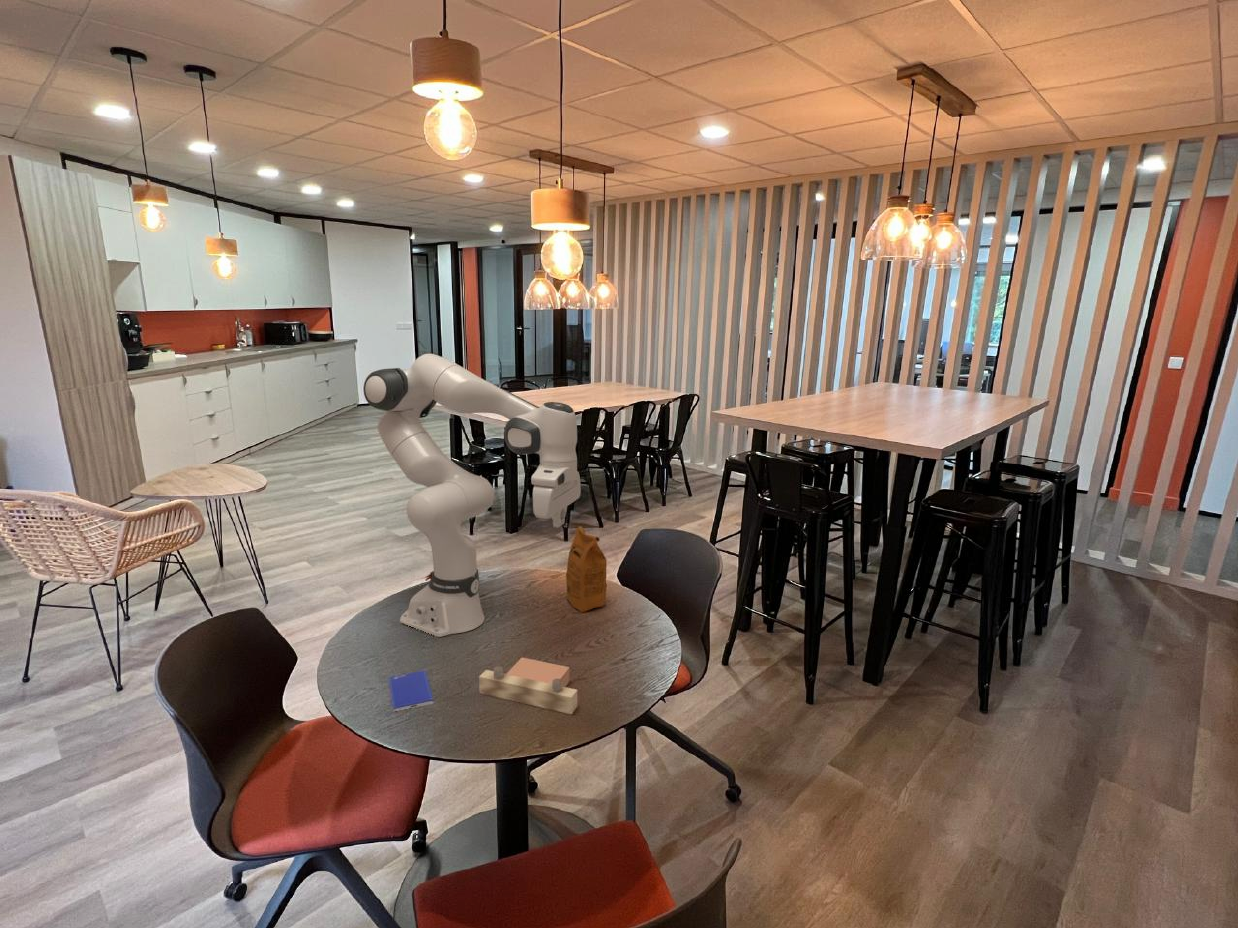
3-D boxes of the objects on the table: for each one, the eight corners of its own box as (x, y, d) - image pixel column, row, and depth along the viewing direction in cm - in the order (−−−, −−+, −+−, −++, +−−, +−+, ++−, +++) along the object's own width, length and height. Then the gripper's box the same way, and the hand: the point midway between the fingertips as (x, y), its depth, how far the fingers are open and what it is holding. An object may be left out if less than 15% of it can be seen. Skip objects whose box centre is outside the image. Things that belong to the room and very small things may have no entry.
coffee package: (592, 591, 191) (592, 522, 186) (610, 608, 180) (611, 535, 175) (561, 597, 187) (561, 526, 182) (578, 614, 176) (578, 540, 171)
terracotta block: (505, 691, 140) (504, 675, 139) (522, 672, 148) (521, 657, 147) (554, 702, 137) (554, 686, 136) (569, 682, 144) (569, 667, 143)
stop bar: (479, 692, 139) (478, 668, 137) (486, 685, 142) (485, 661, 140) (571, 714, 132) (571, 688, 131) (577, 706, 135) (577, 681, 133)
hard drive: (388, 676, 142) (393, 708, 131) (425, 669, 146) (433, 699, 135) (388, 683, 143) (393, 714, 132) (426, 675, 146) (433, 705, 135)
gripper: (564, 460, 162) (564, 512, 165) (527, 479, 143) (528, 536, 146) (586, 462, 160) (586, 514, 163) (553, 481, 141) (553, 540, 144)
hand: (558, 525), depth 154 cm, fingers closed
